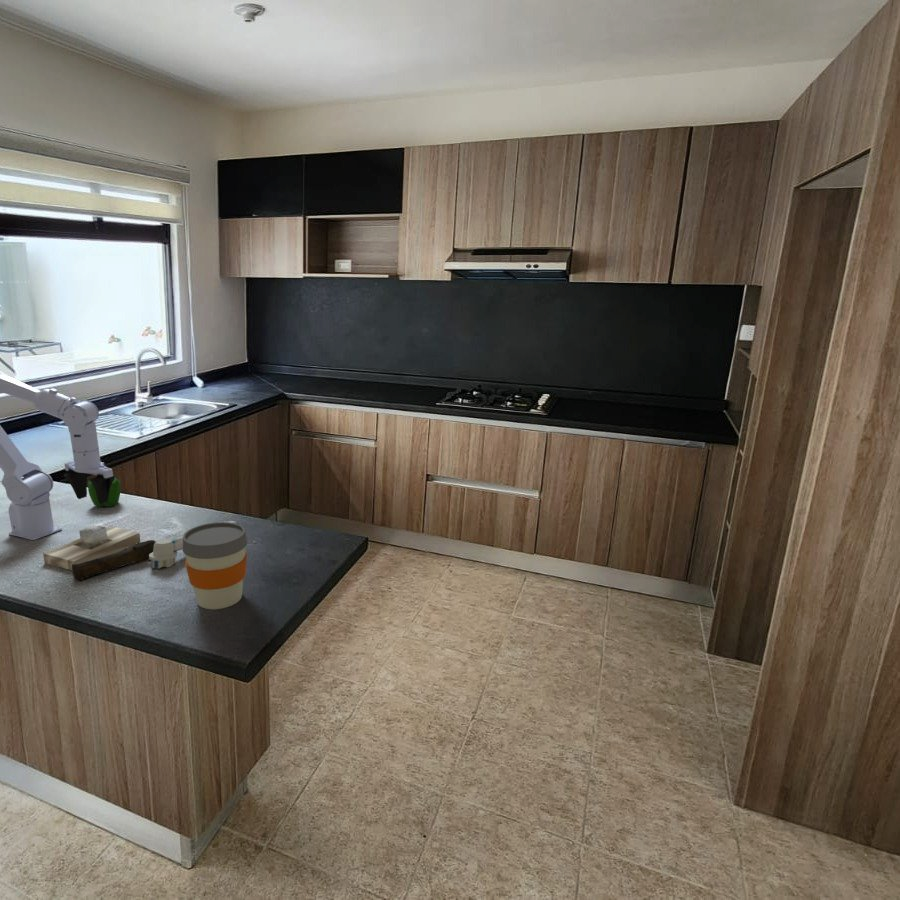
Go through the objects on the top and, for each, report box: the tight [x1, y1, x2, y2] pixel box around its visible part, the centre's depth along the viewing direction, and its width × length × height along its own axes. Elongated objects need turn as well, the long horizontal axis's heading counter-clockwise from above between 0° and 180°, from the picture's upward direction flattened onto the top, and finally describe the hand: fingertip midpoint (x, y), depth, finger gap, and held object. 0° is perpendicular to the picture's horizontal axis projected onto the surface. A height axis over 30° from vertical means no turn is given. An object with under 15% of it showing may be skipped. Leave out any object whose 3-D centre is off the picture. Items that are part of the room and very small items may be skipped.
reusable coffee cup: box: [182, 521, 248, 610], centre depth 125 cm, size 12×13×15 cm
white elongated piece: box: [149, 519, 240, 569], centre depth 148 cm, size 5×7×25 cm
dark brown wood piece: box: [71, 539, 157, 582], centre depth 138 cm, size 19×4×5 cm, turn 136°
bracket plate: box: [42, 526, 141, 571], centre depth 146 cm, size 10×18×2 cm, turn 159°
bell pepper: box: [87, 476, 122, 508], centre depth 175 cm, size 8×8×10 cm
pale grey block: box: [78, 524, 108, 549], centre depth 146 cm, size 4×4×6 cm
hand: (92, 500), depth 154 cm, fingers open, 7 cm apart
